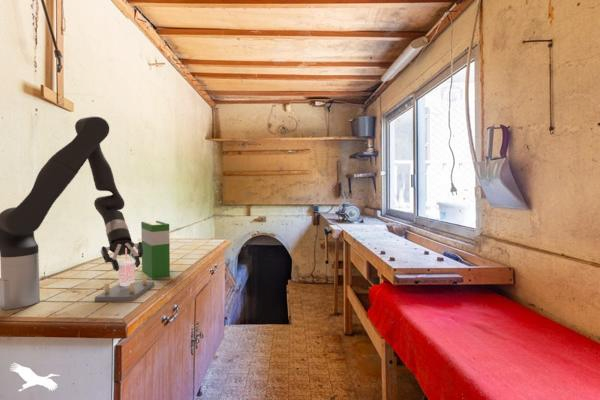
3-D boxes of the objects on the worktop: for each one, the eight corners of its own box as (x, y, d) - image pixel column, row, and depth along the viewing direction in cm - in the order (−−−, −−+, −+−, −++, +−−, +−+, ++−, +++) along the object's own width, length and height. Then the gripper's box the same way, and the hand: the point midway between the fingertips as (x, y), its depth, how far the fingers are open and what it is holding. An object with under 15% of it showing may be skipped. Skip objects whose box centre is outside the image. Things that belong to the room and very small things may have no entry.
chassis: (132, 300, 98) (132, 286, 98) (94, 301, 98) (94, 287, 98) (154, 285, 114) (154, 273, 114) (121, 285, 114) (121, 273, 114)
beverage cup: (137, 280, 110) (136, 245, 110) (134, 285, 105) (133, 249, 104) (119, 282, 108) (118, 247, 107) (115, 288, 102) (114, 250, 102)
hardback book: (142, 270, 135) (141, 221, 135) (158, 267, 140) (157, 220, 140) (152, 279, 122) (151, 225, 122) (169, 275, 127) (169, 224, 127)
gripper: (98, 229, 105) (107, 266, 98) (139, 225, 116) (150, 258, 108) (95, 241, 109) (103, 277, 101) (135, 236, 120) (146, 269, 112)
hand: (127, 267), depth 105 cm, fingers closed on beverage cup, 6 cm apart
